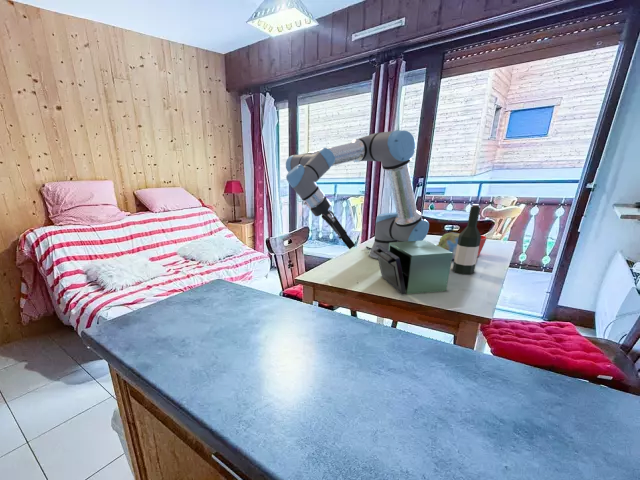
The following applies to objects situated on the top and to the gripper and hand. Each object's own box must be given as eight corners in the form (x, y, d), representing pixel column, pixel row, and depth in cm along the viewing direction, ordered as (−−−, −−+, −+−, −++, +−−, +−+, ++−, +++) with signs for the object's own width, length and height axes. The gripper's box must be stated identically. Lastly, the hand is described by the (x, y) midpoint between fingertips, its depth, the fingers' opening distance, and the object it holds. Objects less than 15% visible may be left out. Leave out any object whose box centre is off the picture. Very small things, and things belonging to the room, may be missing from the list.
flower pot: (482, 252, 172) (486, 234, 169) (482, 258, 164) (486, 239, 160) (459, 250, 178) (462, 233, 174) (458, 256, 169) (461, 237, 166)
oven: (406, 294, 130) (411, 255, 124) (385, 276, 148) (389, 242, 142) (446, 291, 130) (453, 252, 124) (420, 274, 149) (425, 240, 143)
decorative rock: (469, 231, 154) (460, 225, 168) (433, 240, 160) (427, 234, 173) (474, 258, 157) (465, 251, 171) (438, 266, 163) (432, 259, 177)
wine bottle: (472, 275, 144) (487, 206, 132) (451, 272, 148) (463, 205, 137) (474, 269, 150) (488, 203, 139) (453, 267, 154) (465, 202, 143)
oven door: (396, 296, 130) (389, 261, 124) (377, 278, 148) (370, 247, 143) (406, 293, 130) (399, 257, 124) (385, 276, 148) (378, 244, 142)
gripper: (306, 206, 131) (339, 248, 138) (313, 211, 119) (350, 257, 126) (320, 193, 129) (353, 236, 137) (330, 197, 117) (365, 244, 125)
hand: (351, 246), depth 132 cm, fingers closed
